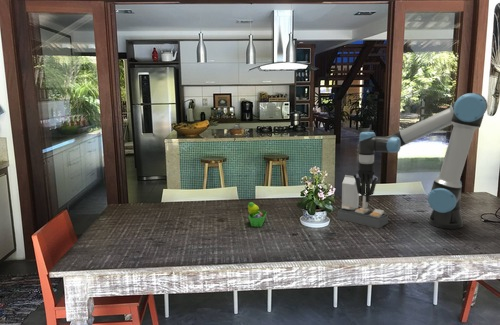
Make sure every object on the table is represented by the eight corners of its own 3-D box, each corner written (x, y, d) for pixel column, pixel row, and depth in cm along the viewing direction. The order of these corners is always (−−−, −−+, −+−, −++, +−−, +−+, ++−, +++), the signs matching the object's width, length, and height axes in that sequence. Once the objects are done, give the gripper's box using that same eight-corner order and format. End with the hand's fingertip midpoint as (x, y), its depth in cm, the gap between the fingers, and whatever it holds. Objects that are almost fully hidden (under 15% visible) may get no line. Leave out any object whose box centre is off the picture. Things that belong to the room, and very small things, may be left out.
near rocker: (384, 212, 201) (383, 210, 200) (378, 218, 196) (378, 216, 196) (375, 210, 204) (375, 208, 203) (369, 216, 199) (369, 214, 199)
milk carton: (353, 210, 225) (354, 177, 222) (341, 208, 229) (342, 176, 226) (358, 207, 230) (359, 175, 227) (346, 205, 235) (347, 174, 231)
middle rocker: (369, 211, 206) (369, 208, 206) (363, 213, 202) (363, 211, 201) (361, 209, 209) (361, 207, 209) (355, 212, 205) (355, 209, 204)
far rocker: (355, 209, 212) (355, 207, 212) (349, 209, 207) (349, 206, 207) (347, 208, 215) (348, 205, 215) (341, 207, 210) (342, 205, 210)
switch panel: (387, 223, 202) (388, 213, 201) (378, 228, 195) (379, 218, 194) (347, 214, 218) (347, 205, 217) (337, 218, 211) (337, 209, 210)
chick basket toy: (263, 227, 199) (263, 205, 197) (245, 226, 201) (245, 205, 199) (267, 220, 210) (266, 199, 208) (250, 219, 212) (250, 199, 210)
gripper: (381, 162, 201) (380, 208, 205) (358, 160, 210) (357, 204, 214) (375, 164, 196) (373, 211, 200) (351, 162, 205) (350, 207, 209)
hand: (365, 207), depth 207 cm, fingers closed
